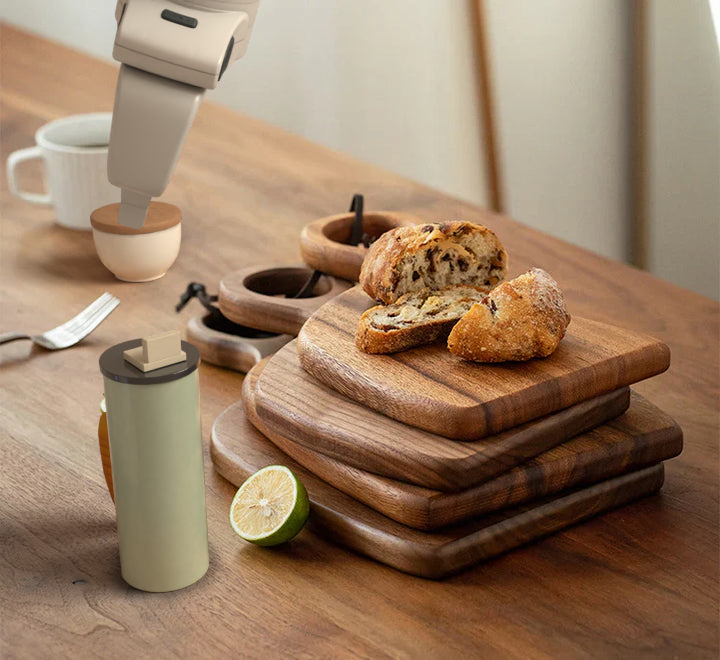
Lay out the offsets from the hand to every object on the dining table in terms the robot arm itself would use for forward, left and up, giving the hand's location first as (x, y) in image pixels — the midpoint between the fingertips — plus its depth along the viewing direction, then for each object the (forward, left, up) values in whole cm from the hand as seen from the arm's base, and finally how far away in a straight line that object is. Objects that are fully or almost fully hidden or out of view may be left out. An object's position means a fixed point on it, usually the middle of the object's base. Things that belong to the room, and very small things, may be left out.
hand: (141, 192), depth 77 cm
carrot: (0, +6, -32) cm, 32 cm away
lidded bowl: (+33, +65, -32) cm, 79 cm away
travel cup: (0, 0, -32) cm, 32 cm away
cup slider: (0, -1, -13) cm, 13 cm away
